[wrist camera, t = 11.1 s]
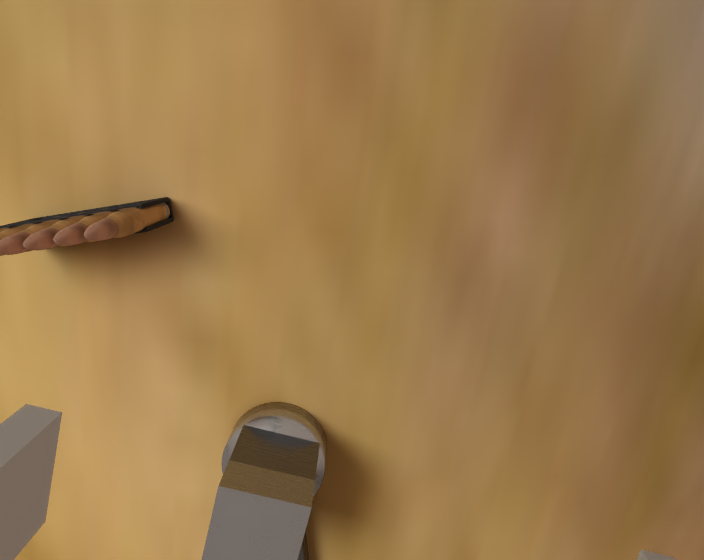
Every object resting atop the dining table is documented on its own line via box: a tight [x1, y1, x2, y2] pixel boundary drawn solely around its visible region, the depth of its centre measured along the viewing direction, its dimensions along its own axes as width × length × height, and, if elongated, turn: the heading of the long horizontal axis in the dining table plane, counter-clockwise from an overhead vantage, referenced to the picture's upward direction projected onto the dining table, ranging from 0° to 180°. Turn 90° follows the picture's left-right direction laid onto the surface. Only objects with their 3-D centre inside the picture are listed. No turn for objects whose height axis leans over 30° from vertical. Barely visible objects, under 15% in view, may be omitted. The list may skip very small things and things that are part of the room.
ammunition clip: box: [0, 197, 174, 256], centre depth 37 cm, size 11×2×12 cm, turn 99°
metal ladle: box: [222, 402, 327, 560], centre depth 46 cm, size 20×8×6 cm, turn 5°
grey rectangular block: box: [202, 425, 320, 560], centre depth 40 cm, size 6×6×8 cm
